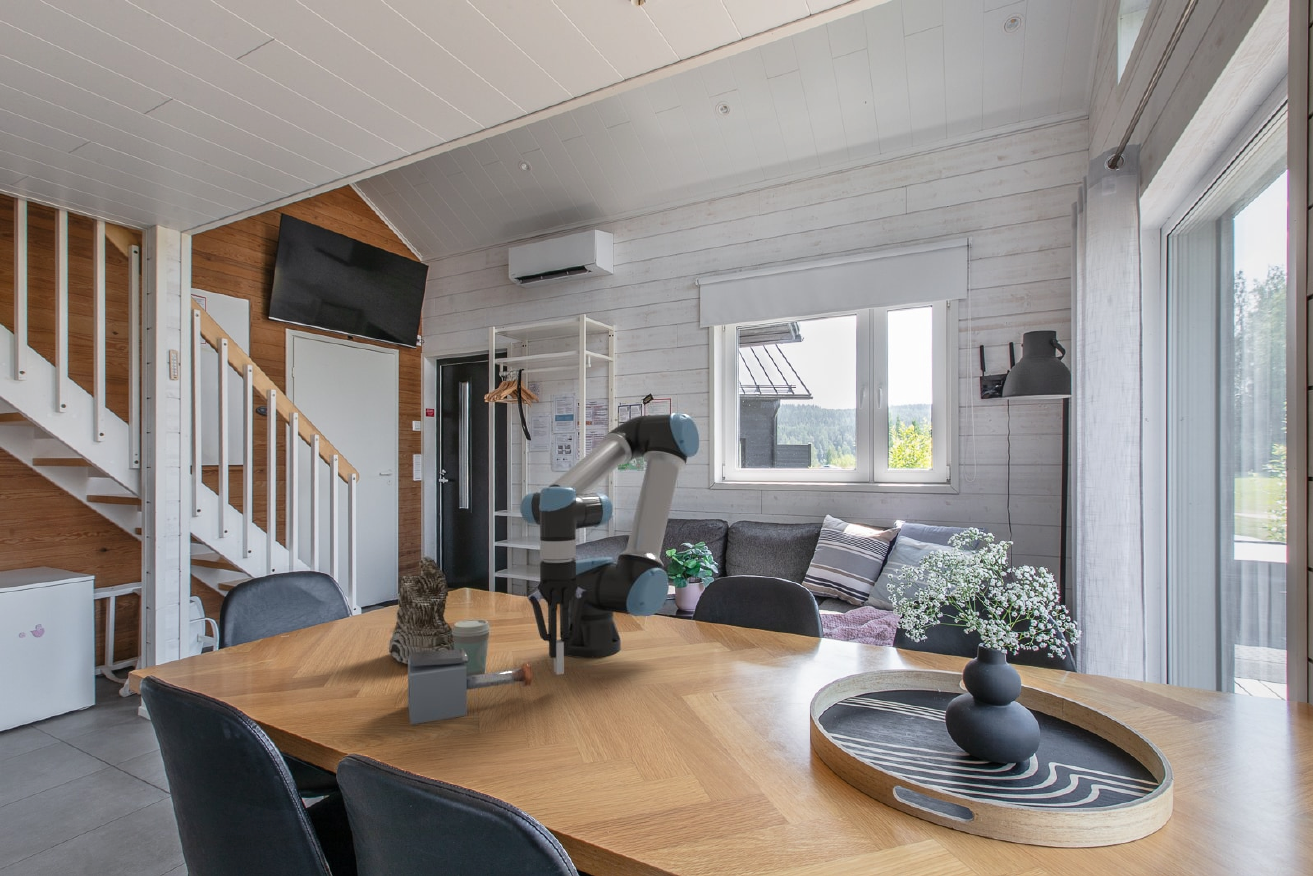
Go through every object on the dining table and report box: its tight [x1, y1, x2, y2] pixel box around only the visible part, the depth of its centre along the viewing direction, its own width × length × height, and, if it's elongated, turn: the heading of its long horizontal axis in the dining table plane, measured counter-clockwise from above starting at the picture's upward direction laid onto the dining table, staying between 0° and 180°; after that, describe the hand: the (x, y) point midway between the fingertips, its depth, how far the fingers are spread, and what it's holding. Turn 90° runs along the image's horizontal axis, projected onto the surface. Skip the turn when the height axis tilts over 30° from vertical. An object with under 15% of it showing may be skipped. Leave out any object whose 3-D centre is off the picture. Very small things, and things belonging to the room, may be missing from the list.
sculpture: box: [388, 555, 455, 665], centre depth 161 cm, size 20×14×25 cm
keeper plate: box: [409, 648, 469, 666], centre depth 127 cm, size 11×6×1 cm, turn 114°
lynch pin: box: [466, 662, 533, 691], centre depth 131 cm, size 15×5×5 cm, turn 114°
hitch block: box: [407, 661, 468, 725], centre depth 127 cm, size 10×10×9 cm
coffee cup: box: [452, 618, 492, 676], centre depth 147 cm, size 8×9×12 cm
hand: (558, 672), depth 137 cm, fingers closed
